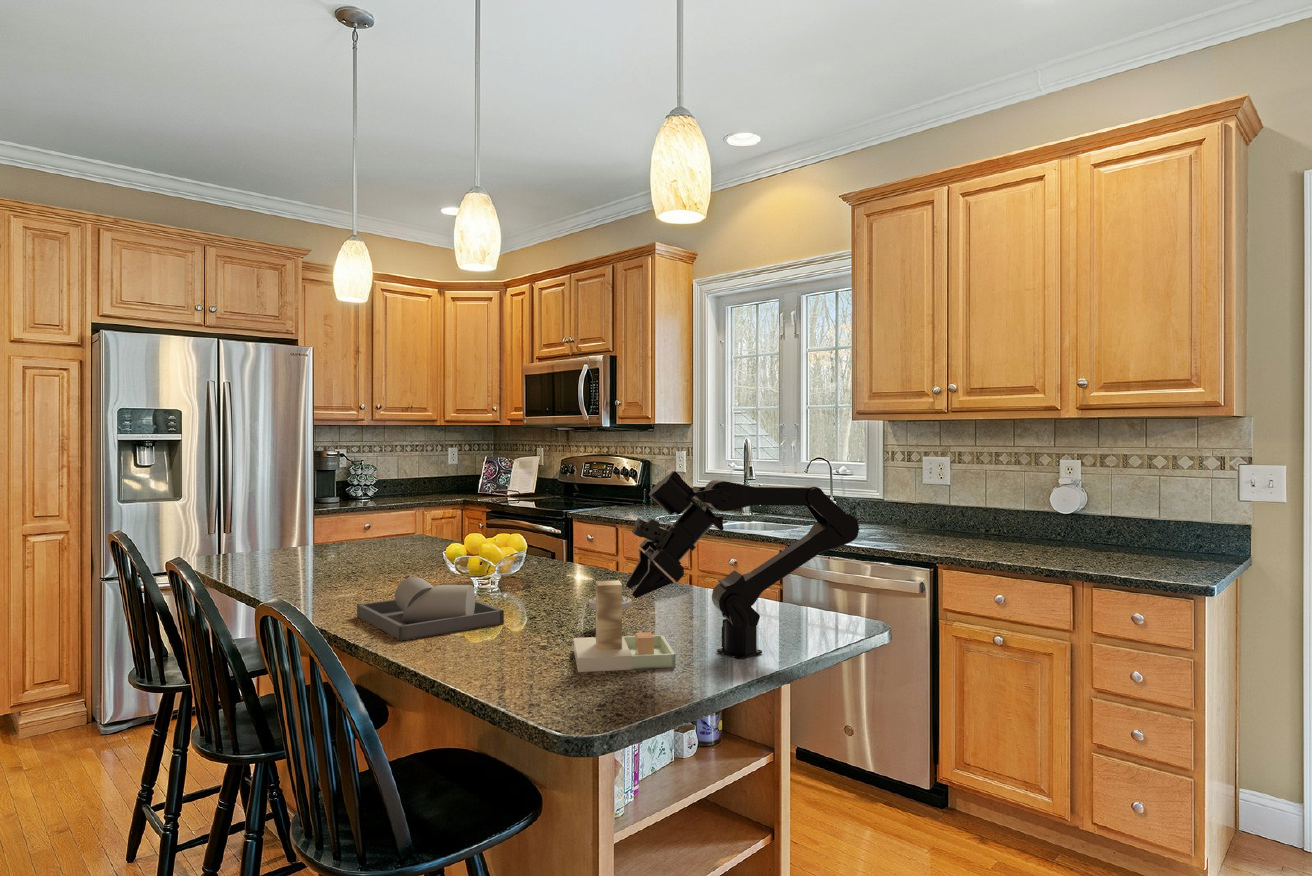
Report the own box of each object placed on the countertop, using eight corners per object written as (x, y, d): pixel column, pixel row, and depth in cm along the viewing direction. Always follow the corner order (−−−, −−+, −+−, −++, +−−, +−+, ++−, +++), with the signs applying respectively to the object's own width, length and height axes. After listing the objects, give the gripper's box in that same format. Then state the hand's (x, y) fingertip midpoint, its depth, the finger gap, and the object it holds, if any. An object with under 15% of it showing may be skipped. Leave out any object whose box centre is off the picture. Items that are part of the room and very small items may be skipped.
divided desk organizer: (503, 623, 173) (503, 610, 173) (400, 641, 158) (400, 626, 158) (452, 603, 194) (452, 591, 194) (357, 617, 179) (357, 604, 179)
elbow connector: (371, 623, 167) (463, 623, 167) (375, 574, 169) (465, 574, 169) (399, 622, 184) (482, 622, 184) (402, 577, 187) (484, 577, 186)
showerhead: (625, 589, 175) (636, 598, 166) (625, 621, 175) (636, 632, 166) (584, 592, 173) (593, 601, 163) (584, 624, 173) (593, 635, 163)
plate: (623, 648, 153) (623, 636, 153) (632, 669, 139) (632, 655, 139) (573, 650, 151) (573, 638, 151) (577, 672, 138) (577, 658, 138)
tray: (662, 646, 154) (662, 634, 154) (675, 667, 140) (675, 654, 140) (623, 648, 153) (623, 636, 153) (632, 669, 139) (632, 656, 139)
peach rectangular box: (635, 653, 148) (650, 653, 149) (638, 659, 144) (653, 658, 145) (635, 633, 148) (650, 632, 149) (638, 638, 144) (653, 637, 145)
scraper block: (619, 642, 148) (619, 580, 148) (622, 648, 144) (622, 584, 144) (595, 643, 147) (595, 581, 147) (597, 650, 143) (597, 585, 143)
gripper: (649, 498, 156) (596, 555, 154) (665, 507, 138) (604, 571, 136) (687, 536, 157) (635, 592, 156) (708, 549, 139) (649, 613, 137)
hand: (630, 591), depth 146 cm, fingers open, 9 cm apart
